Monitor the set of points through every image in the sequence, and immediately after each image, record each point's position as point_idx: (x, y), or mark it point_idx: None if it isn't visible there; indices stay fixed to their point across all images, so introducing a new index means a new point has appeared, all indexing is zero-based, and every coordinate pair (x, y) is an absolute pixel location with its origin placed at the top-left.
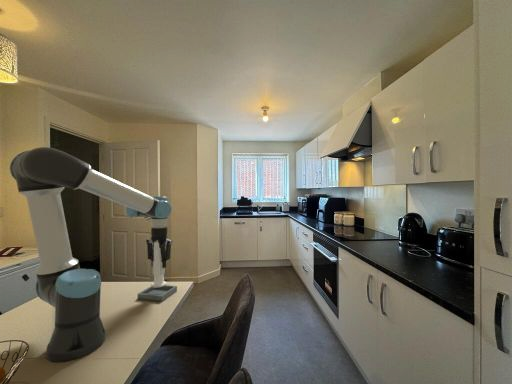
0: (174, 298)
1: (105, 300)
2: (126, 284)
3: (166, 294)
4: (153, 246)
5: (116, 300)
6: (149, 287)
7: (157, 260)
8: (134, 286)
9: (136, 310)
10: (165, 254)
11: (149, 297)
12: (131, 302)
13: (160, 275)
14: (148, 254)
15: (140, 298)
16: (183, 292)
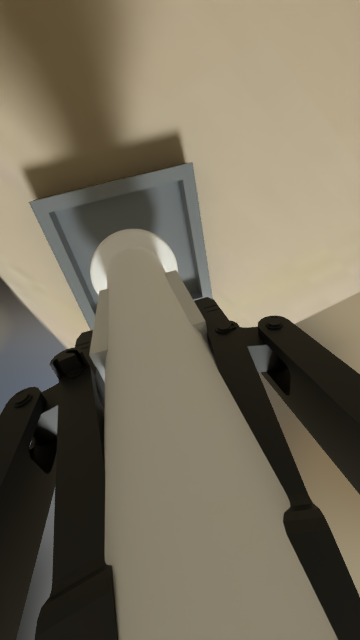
0: (24, 262)
1: (334, 63)
2: (354, 266)
3: (52, 246)
4: (305, 540)
5: (277, 94)
6: (203, 261)
7: (128, 338)
8: (308, 268)
9: (52, 19)
10: (11, 459)
11: (113, 181)
12: (181, 112)
13: (108, 287)
14: (309, 351)
15: (168, 167)
16: (54, 328)
